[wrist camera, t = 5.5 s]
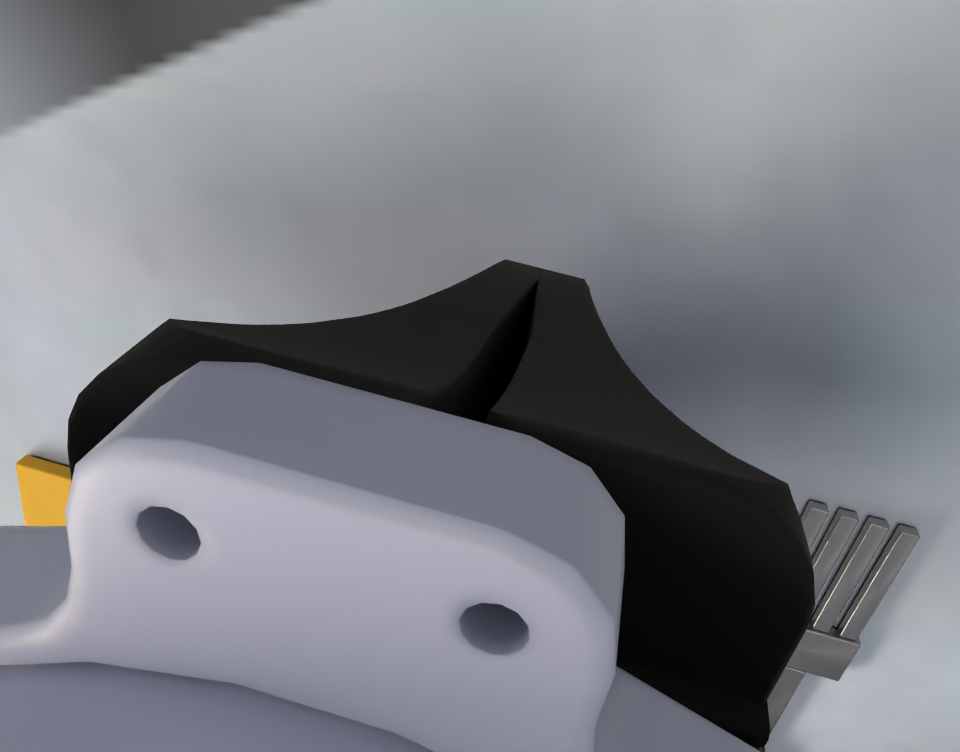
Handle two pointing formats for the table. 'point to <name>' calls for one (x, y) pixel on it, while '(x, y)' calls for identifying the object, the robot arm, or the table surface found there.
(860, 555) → the fork
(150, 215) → the table surface
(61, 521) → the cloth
